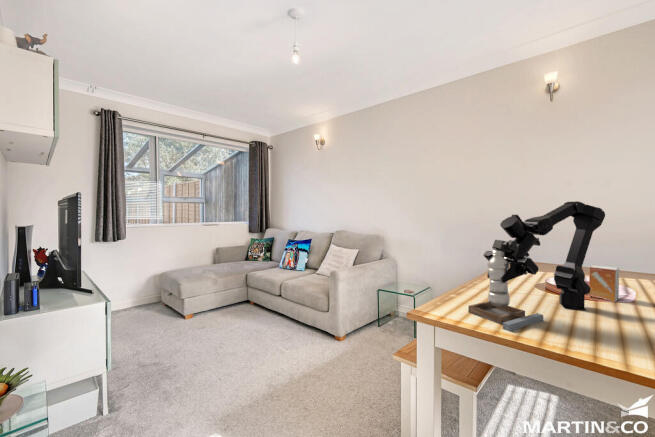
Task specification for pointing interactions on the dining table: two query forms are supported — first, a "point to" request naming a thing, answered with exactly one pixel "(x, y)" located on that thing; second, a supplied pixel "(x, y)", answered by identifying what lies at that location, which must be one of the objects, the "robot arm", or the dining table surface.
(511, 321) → the door edge strip
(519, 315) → the brown square tray
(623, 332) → the dining table surface
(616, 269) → the small box
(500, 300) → the plastic bottle
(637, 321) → the dining table surface
